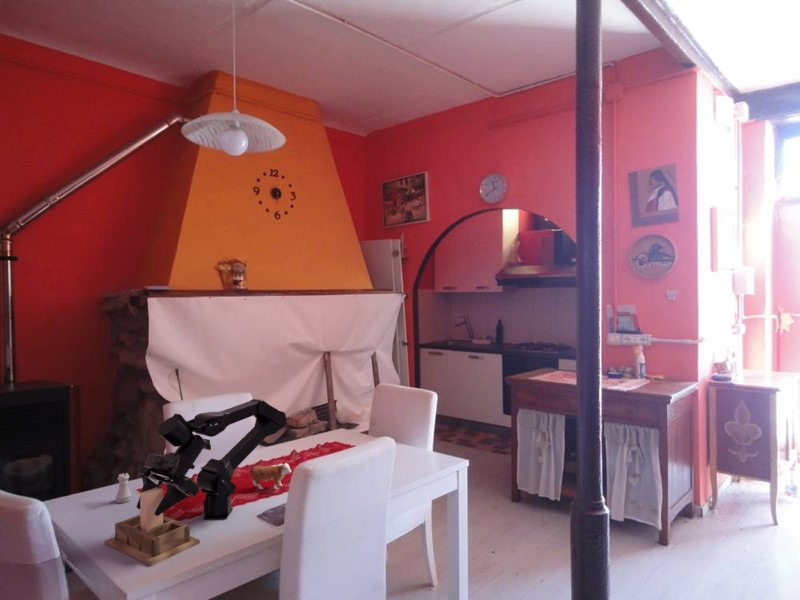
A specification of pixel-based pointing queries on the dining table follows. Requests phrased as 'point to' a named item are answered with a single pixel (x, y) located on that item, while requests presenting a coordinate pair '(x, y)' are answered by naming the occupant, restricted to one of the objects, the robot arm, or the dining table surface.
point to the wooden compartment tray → (152, 539)
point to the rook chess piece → (123, 489)
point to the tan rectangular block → (150, 508)
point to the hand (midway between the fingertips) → (146, 511)
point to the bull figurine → (269, 473)
